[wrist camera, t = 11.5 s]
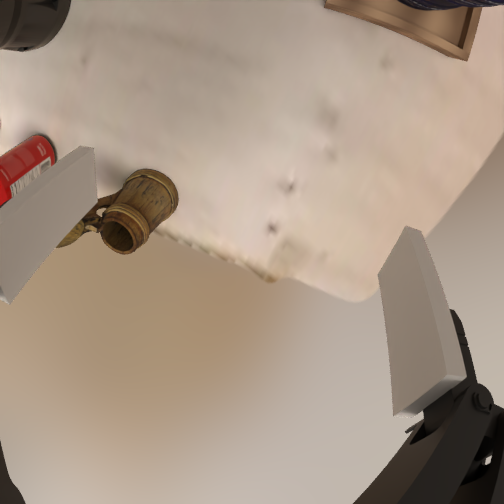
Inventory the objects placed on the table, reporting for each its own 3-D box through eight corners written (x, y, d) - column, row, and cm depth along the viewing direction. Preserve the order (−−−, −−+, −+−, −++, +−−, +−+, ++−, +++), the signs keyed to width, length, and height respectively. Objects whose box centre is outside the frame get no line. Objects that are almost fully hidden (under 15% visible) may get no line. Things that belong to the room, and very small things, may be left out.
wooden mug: (112, 146, 43) (35, 209, 29) (186, 186, 45) (131, 267, 32) (100, 189, 48) (35, 257, 35) (167, 227, 51) (117, 308, 37)
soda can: (63, 168, 47) (7, 216, 35) (37, 174, 48) (-16, 219, 37) (50, 128, 42) (-13, 169, 30) (24, 137, 43) (-34, 177, 32)
